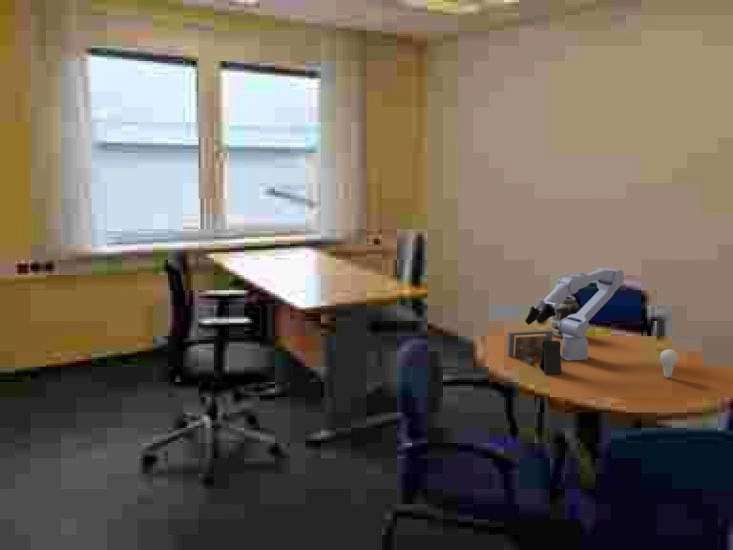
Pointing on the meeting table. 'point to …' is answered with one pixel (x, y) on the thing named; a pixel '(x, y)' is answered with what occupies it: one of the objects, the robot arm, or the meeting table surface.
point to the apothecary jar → (563, 313)
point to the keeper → (527, 359)
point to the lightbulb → (668, 361)
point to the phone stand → (551, 358)
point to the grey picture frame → (511, 334)
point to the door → (529, 345)
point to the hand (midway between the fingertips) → (532, 322)
